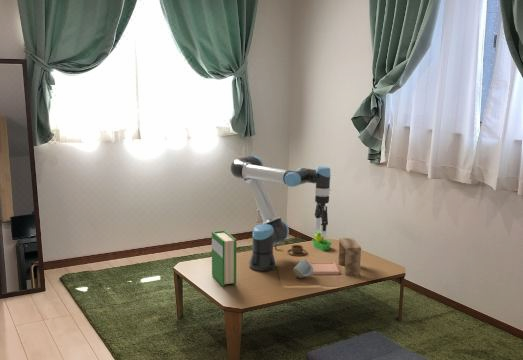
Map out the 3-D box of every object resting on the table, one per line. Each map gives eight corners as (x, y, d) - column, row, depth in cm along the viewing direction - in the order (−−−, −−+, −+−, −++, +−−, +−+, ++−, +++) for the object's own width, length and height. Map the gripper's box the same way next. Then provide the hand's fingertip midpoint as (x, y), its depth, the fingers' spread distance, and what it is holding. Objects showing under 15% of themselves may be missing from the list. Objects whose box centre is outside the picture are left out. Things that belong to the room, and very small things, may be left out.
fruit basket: (332, 250, 323) (332, 232, 321) (320, 252, 319) (321, 234, 317) (320, 245, 333) (321, 228, 331) (309, 247, 328) (310, 230, 326)
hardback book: (236, 284, 265) (236, 239, 261) (222, 286, 262) (222, 240, 258) (224, 273, 281) (224, 230, 277) (211, 274, 278) (211, 231, 274)
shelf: (345, 275, 280) (346, 247, 277) (338, 264, 298) (339, 238, 295) (359, 275, 281) (361, 247, 278) (351, 264, 298) (353, 238, 296)
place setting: (291, 259, 307) (291, 249, 306) (271, 250, 323) (271, 241, 322) (313, 254, 316) (314, 245, 315) (293, 246, 333) (294, 237, 332)
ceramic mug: (298, 279, 277) (290, 268, 277) (309, 269, 280) (301, 258, 280) (305, 279, 267) (296, 267, 267) (317, 269, 270) (308, 257, 270)
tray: (306, 274, 280) (306, 269, 280) (302, 265, 295) (302, 260, 294) (339, 274, 282) (339, 268, 281) (334, 265, 296) (334, 260, 295)
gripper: (335, 200, 268) (332, 239, 272) (323, 190, 293) (321, 226, 297) (321, 200, 268) (319, 239, 271) (310, 190, 292) (308, 226, 296)
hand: (320, 232), depth 284 cm, fingers open, 13 cm apart
